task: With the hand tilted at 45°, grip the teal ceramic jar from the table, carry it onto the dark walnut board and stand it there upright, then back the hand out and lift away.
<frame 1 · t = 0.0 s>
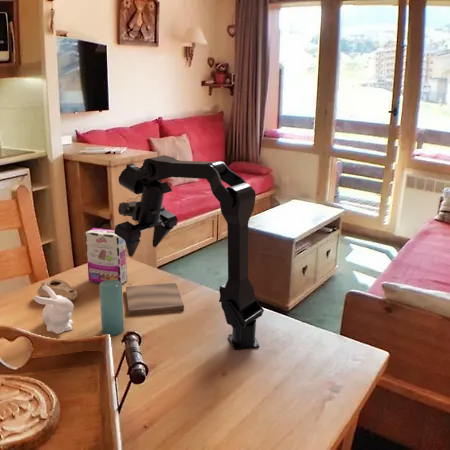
hand: (142, 251, 143), 15 cm above the table, tool pointing down, fingers open, 9 cm apart
teal jar: (113, 330, 132), on the table
candy bar box: (108, 281, 160), on the table
walnut board: (153, 300, 148), on the table
pottery oil lamp: (59, 300, 147), on the table
rabbit: (59, 328, 133), on the table
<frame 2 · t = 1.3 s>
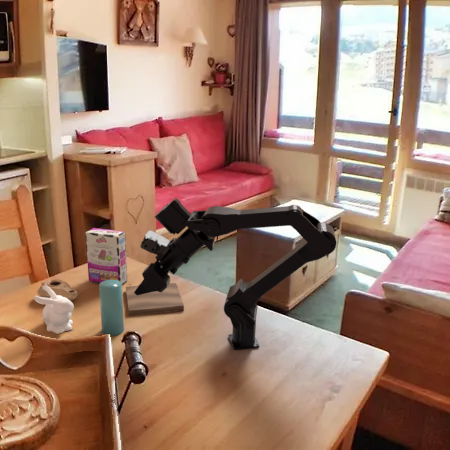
hand: (141, 285, 127), 13 cm above the table, tool tilted 45°, fingers open, 9 cm apart
nothing on the table moved.
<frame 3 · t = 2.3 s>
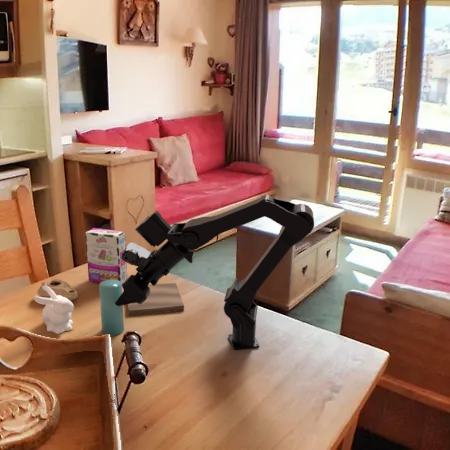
hand: (122, 296, 129), 10 cm above the table, tool tilted 45°, fingers open, 9 cm apart
nothing on the table moved.
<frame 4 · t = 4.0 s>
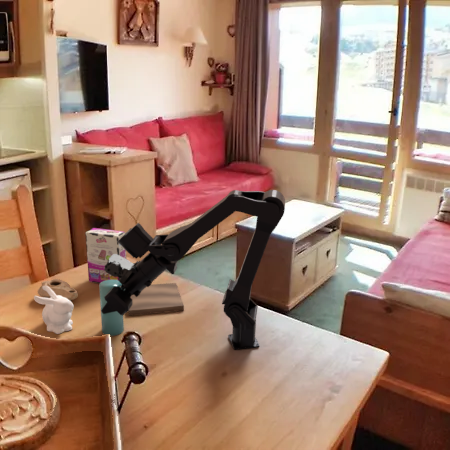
hand: (106, 306, 130), 7 cm above the table, tool tilted 45°, fingers closed on teal jar, 5 cm apart
teal jar: (112, 330, 132), on the table, touching gripper
everything else where it was.
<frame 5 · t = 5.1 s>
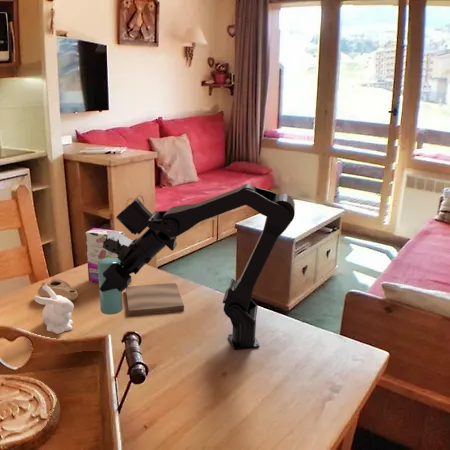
hand: (105, 285, 128), 13 cm above the table, tool tilted 45°, fingers closed on teal jar, 5 cm apart
teal jar: (111, 309, 130), point 6 cm above the table, touching gripper
everything else where it was.
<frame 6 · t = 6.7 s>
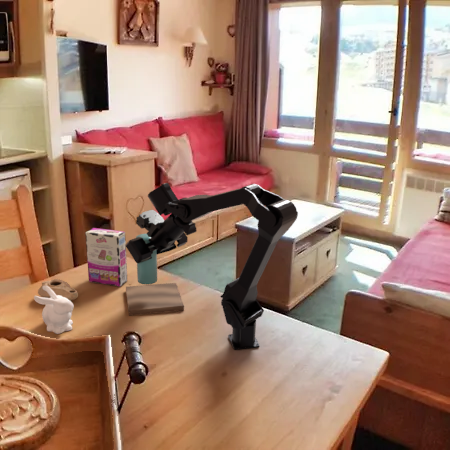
hand: (143, 257, 144), 13 cm above the table, tool tilted 45°, fingers closed on teal jar, 5 cm apart
teal jar: (147, 280, 145), point 7 cm above the table, touching gripper
everything else where it was.
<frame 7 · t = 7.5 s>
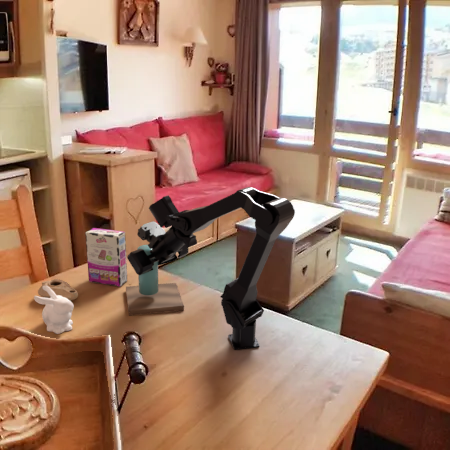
hand: (144, 268, 145), 10 cm above the table, tool tilted 45°, fingers closed on teal jar, 5 cm apart
teal jar: (148, 290, 146), point 3 cm above the table, touching gripper
everything else where it was.
when the fingers open (9 cm above the table, at t = 8.1 s): teal jar drops 1 cm, resting on walnut board.
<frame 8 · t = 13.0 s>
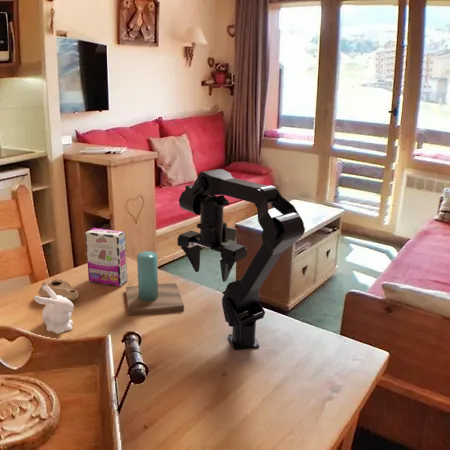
hand: (210, 276, 134), 13 cm above the table, tool pointing down, fingers open, 9 cm apart
teal jar: (148, 296, 147), point 2 cm above the table, touching walnut board
everything else where it was.
at the end: teal jar inside the target area (0.5 cm from its centre), point 1.6 cm above the table; teal jar tilted 2°; the gripper is holding nothing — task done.
